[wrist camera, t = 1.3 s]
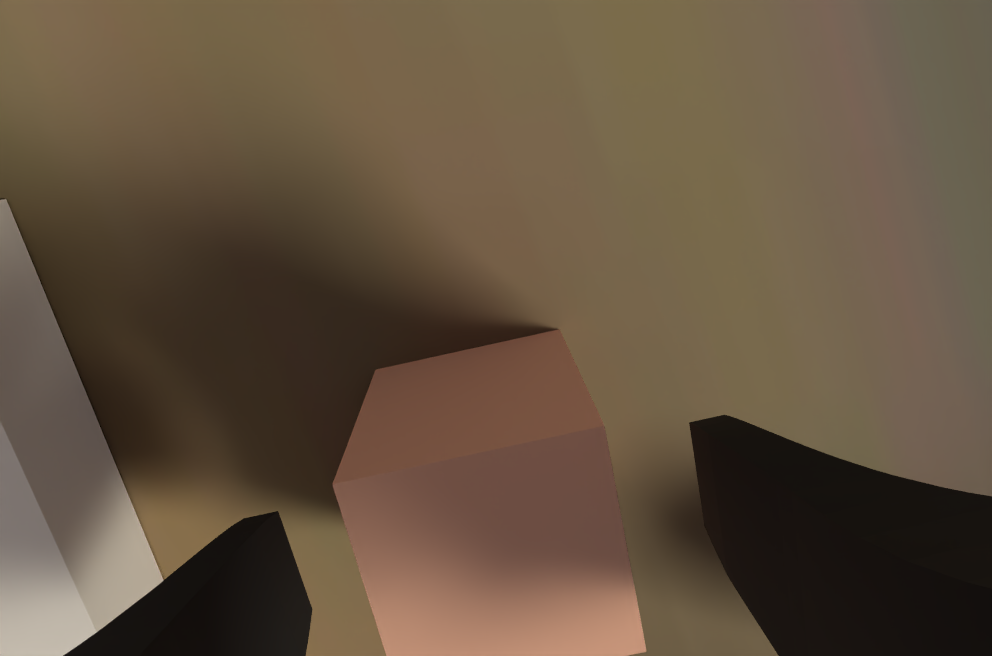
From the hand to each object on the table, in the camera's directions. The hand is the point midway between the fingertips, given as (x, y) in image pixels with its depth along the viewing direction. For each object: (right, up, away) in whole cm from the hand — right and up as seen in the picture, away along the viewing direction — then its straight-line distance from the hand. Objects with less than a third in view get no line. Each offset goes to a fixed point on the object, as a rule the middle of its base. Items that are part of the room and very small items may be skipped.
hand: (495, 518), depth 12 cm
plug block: (0, +1, +3) cm, 4 cm away
